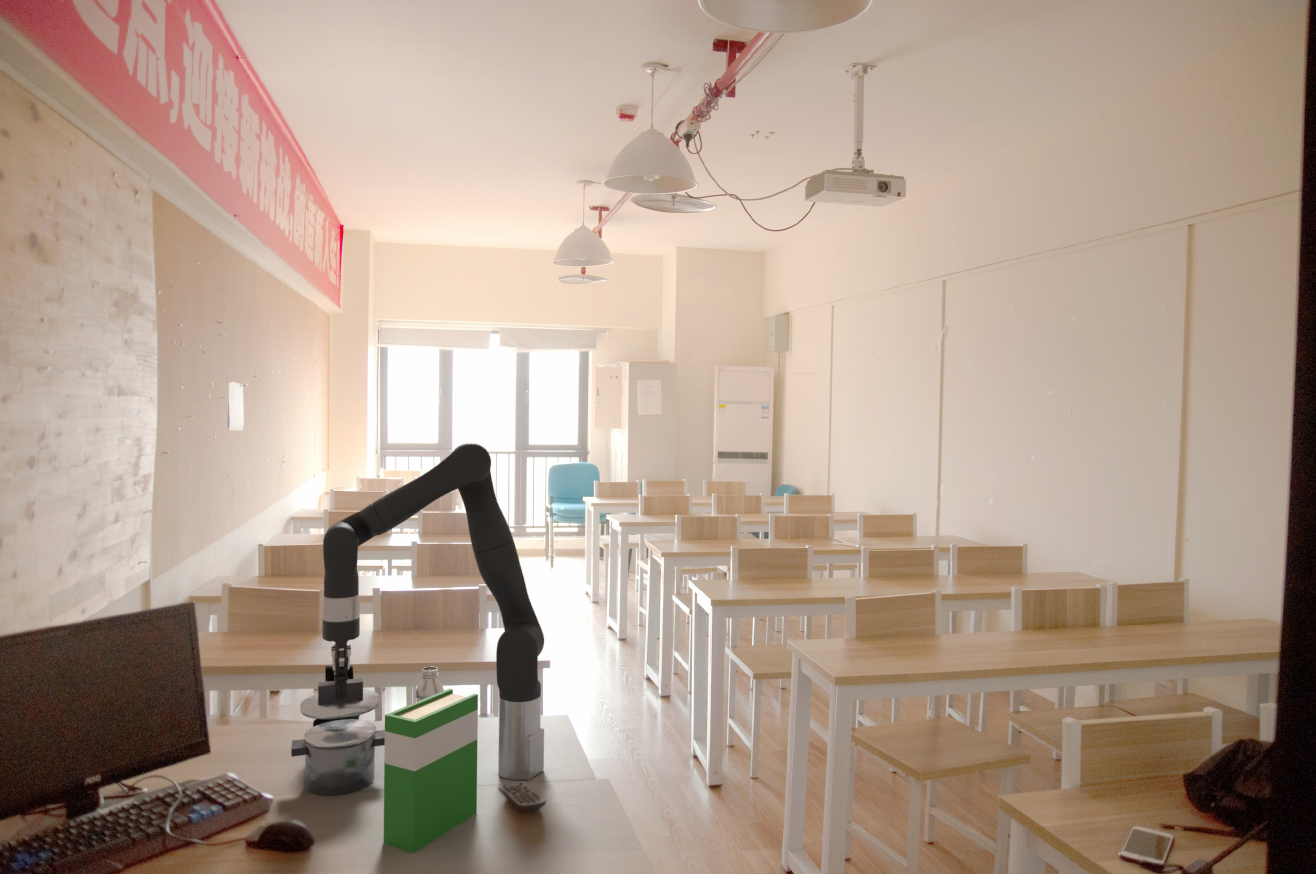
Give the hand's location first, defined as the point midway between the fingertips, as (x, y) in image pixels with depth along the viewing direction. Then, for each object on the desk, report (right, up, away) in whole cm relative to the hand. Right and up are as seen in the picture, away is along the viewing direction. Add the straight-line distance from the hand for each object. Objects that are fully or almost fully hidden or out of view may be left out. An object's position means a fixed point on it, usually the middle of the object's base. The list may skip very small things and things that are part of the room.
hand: (340, 695), depth 181 cm
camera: (-8, -19, +19) cm, 28 cm away
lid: (0, -2, 0) cm, 2 cm away
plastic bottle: (+14, -19, +17) cm, 30 cm away
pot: (0, -19, +1) cm, 19 cm away
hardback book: (+25, -20, -19) cm, 37 cm away
